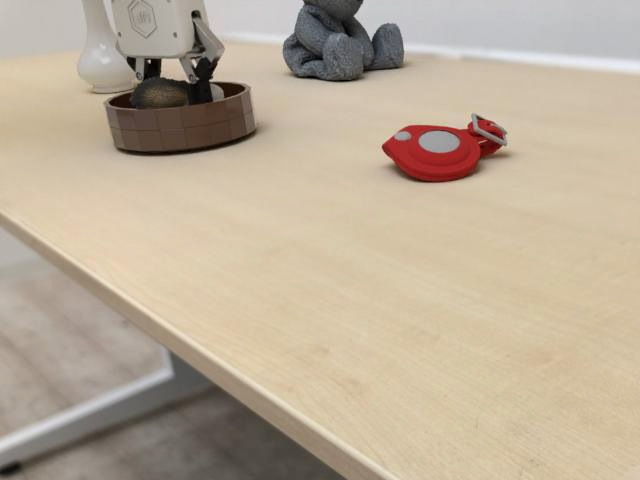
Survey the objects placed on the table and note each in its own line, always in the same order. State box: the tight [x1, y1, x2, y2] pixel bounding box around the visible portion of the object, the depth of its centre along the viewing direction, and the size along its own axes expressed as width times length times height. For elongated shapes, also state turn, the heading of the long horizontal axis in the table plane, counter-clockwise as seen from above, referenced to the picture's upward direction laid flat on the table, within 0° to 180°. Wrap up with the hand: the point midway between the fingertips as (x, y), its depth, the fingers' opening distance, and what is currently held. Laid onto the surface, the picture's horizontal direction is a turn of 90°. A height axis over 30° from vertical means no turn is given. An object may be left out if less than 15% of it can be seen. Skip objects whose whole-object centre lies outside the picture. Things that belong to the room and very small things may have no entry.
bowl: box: [102, 80, 258, 153], centre depth 93 cm, size 16×16×5 cm
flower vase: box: [76, 0, 137, 94], centre depth 121 cm, size 13×18×25 cm
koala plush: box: [281, 0, 405, 81], centre depth 126 cm, size 17×18×20 cm
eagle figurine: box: [130, 76, 224, 109], centre depth 92 cm, size 8×7×9 cm
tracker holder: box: [381, 112, 508, 183], centre depth 77 cm, size 12×4×10 cm
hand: (182, 114), depth 93 cm, fingers closed on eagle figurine, 6 cm apart
